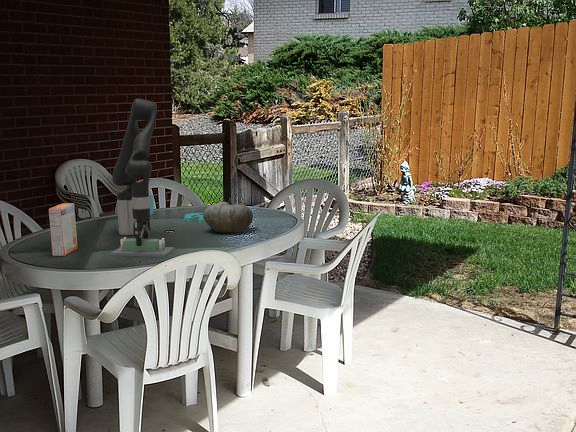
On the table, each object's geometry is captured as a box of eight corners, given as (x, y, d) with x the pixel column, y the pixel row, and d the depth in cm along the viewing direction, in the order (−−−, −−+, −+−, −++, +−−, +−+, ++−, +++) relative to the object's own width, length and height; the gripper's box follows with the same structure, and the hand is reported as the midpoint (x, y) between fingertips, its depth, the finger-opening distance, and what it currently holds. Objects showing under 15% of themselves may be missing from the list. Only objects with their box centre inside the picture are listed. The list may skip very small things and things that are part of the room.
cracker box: (65, 249, 304) (62, 202, 300) (78, 249, 303) (75, 203, 300) (51, 256, 290) (47, 208, 287) (64, 256, 290) (61, 208, 286)
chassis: (122, 248, 304) (122, 234, 303) (174, 249, 301) (174, 236, 300) (110, 255, 291) (109, 241, 290) (164, 257, 288) (164, 242, 286)
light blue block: (147, 214, 394) (146, 193, 392) (153, 214, 392) (153, 193, 390) (133, 217, 384) (132, 196, 382) (140, 217, 382) (139, 196, 380)
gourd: (204, 232, 327) (207, 196, 327) (199, 231, 351) (201, 197, 351) (256, 234, 332) (258, 199, 332) (247, 233, 356) (249, 200, 357)
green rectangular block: (129, 248, 299) (128, 238, 298) (159, 249, 297) (159, 239, 296) (124, 250, 294) (124, 240, 294) (155, 251, 292) (155, 241, 292)
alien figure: (227, 218, 380) (202, 215, 392) (227, 214, 379) (202, 211, 392) (200, 224, 365) (175, 220, 377) (200, 219, 364) (175, 216, 377)
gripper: (143, 209, 285) (145, 247, 288) (154, 204, 299) (156, 240, 302) (126, 209, 286) (128, 247, 289) (138, 204, 300) (140, 240, 303)
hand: (142, 243), depth 295 cm, fingers open, 8 cm apart
